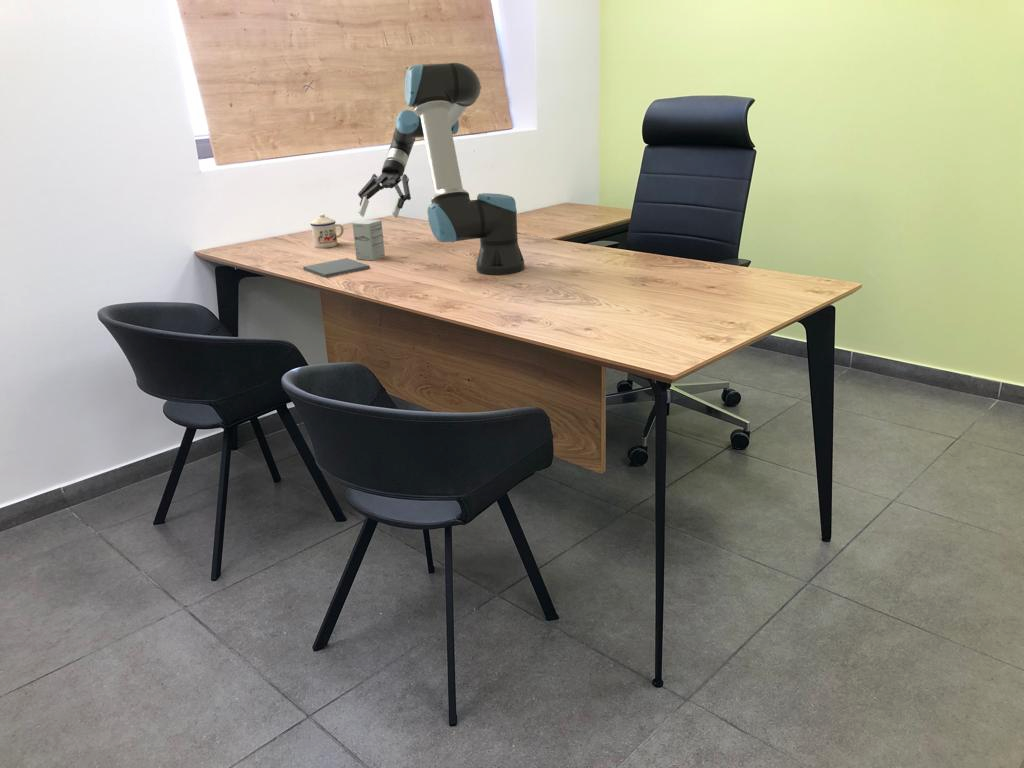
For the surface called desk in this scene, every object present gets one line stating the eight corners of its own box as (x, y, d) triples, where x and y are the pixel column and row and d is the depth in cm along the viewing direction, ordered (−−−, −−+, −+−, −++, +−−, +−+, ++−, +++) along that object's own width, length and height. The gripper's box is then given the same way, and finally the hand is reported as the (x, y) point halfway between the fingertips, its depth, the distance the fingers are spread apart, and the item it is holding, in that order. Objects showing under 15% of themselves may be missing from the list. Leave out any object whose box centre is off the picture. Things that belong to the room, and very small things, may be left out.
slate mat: (369, 268, 264) (369, 265, 264) (324, 277, 255) (324, 274, 255) (347, 260, 276) (346, 258, 276) (303, 269, 267) (303, 266, 267)
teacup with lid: (318, 249, 296) (313, 217, 292) (310, 245, 304) (306, 214, 299) (349, 244, 302) (345, 213, 298) (340, 240, 309) (337, 210, 305)
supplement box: (355, 259, 278) (351, 222, 273) (368, 254, 284) (364, 218, 279) (373, 260, 274) (368, 223, 270) (385, 256, 280) (382, 219, 276)
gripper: (430, 171, 287) (413, 222, 280) (369, 171, 296) (352, 220, 289) (421, 158, 281) (404, 209, 273) (360, 158, 290) (342, 207, 283)
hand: (377, 215), depth 281 cm, fingers open, 13 cm apart
